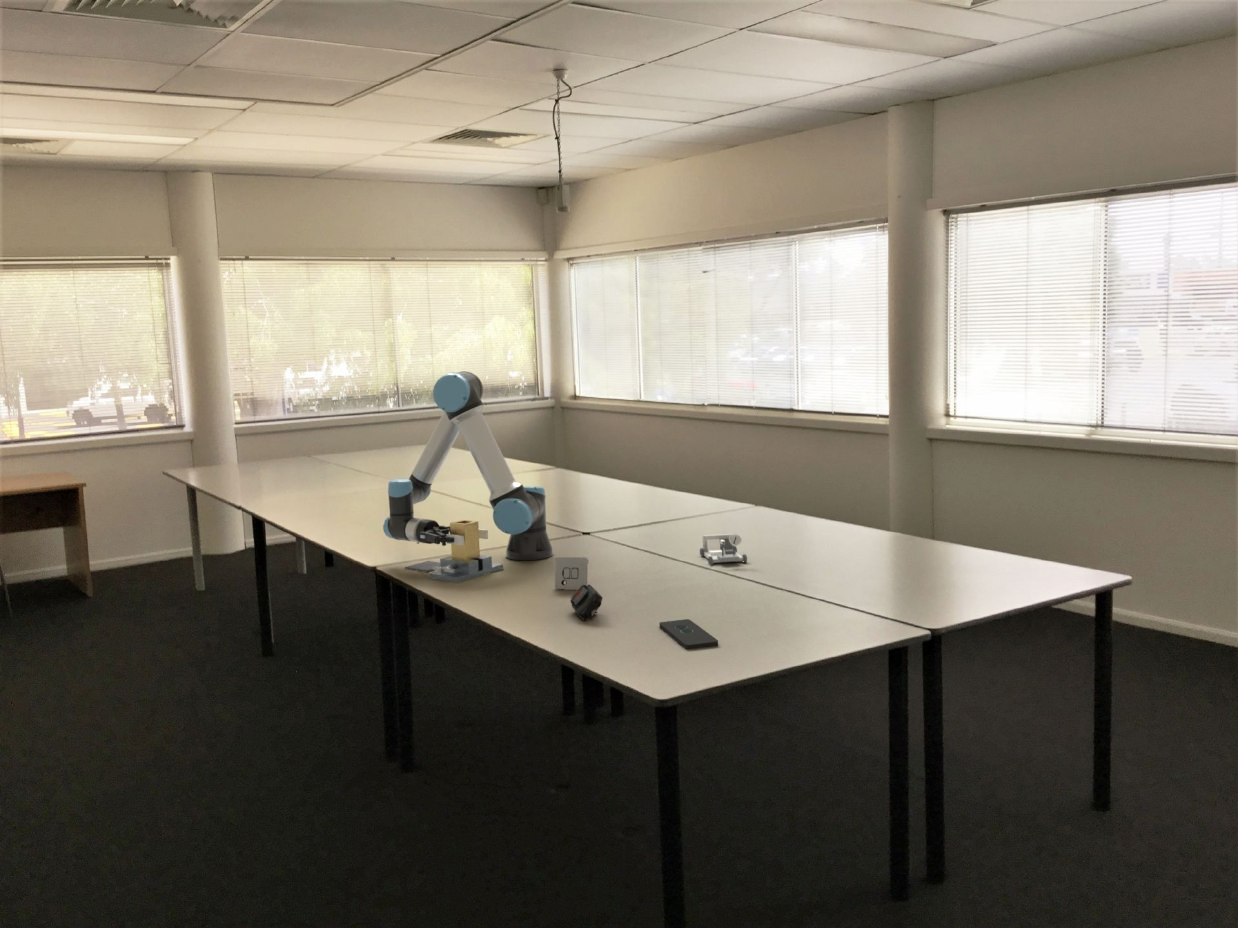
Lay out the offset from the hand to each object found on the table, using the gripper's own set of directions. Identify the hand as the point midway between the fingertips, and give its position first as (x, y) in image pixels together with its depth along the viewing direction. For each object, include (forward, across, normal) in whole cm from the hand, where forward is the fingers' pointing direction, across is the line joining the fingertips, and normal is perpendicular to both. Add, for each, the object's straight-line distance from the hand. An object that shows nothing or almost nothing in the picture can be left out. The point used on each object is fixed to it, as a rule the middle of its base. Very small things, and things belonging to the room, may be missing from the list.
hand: (475, 537), depth 314 cm
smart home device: (+89, +21, -12) cm, 92 cm away
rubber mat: (-21, 0, -12) cm, 24 cm away
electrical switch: (+35, -2, -12) cm, 37 cm away
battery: (+57, +19, -12) cm, 61 cm away
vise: (-4, 0, -12) cm, 12 cm away
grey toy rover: (+55, -53, -12) cm, 78 cm away
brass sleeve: (-4, 0, -7) cm, 8 cm away
